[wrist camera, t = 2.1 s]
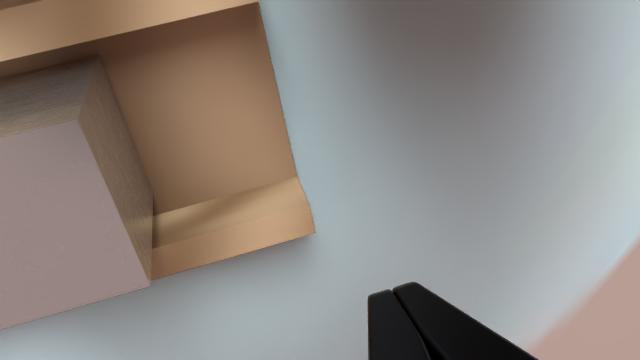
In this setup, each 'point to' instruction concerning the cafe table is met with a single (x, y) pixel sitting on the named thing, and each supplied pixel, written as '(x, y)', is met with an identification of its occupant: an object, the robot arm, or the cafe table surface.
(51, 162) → the grey pink cube
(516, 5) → the cafe table surface
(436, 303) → the robot arm
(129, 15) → the brown shallow tray
